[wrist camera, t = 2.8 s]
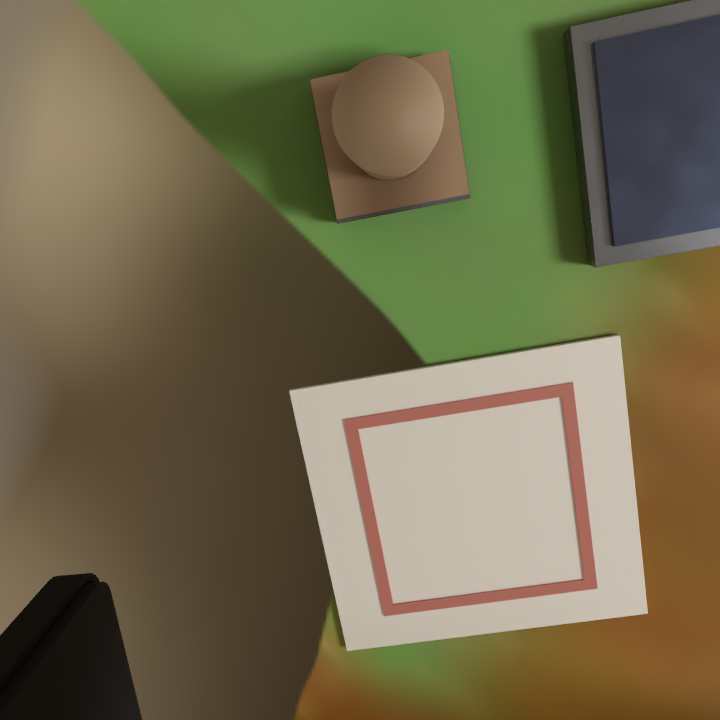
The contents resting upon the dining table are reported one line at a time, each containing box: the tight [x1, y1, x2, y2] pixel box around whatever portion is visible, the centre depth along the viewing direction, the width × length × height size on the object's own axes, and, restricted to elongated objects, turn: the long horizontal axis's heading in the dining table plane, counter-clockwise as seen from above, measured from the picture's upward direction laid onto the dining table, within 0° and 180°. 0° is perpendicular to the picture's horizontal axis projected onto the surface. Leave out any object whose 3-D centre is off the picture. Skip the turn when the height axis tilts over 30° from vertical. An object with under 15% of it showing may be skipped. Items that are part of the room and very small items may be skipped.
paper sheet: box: [289, 334, 648, 651], centre depth 33 cm, size 16×15×1 cm
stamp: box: [310, 50, 470, 224], centre depth 24 cm, size 6×6×10 cm
